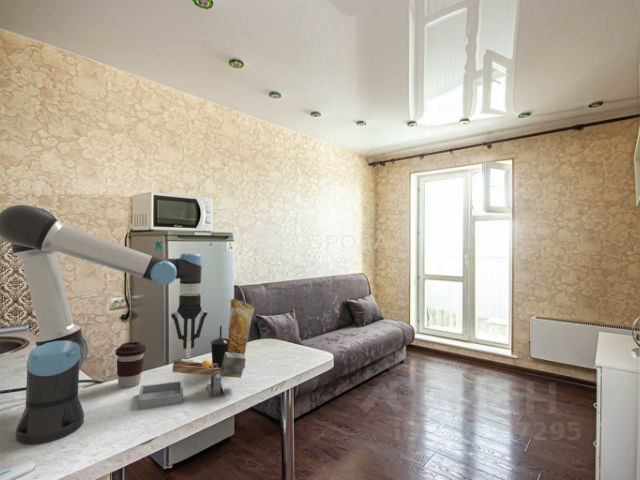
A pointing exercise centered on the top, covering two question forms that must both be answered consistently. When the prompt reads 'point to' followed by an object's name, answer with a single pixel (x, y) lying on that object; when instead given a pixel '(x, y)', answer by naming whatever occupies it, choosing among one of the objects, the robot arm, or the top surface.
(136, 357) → the coffee cup
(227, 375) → the lever
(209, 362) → the ball
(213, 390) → the stand
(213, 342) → the drinking cup
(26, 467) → the top surface
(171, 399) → the dish
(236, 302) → the pancake mix bag
